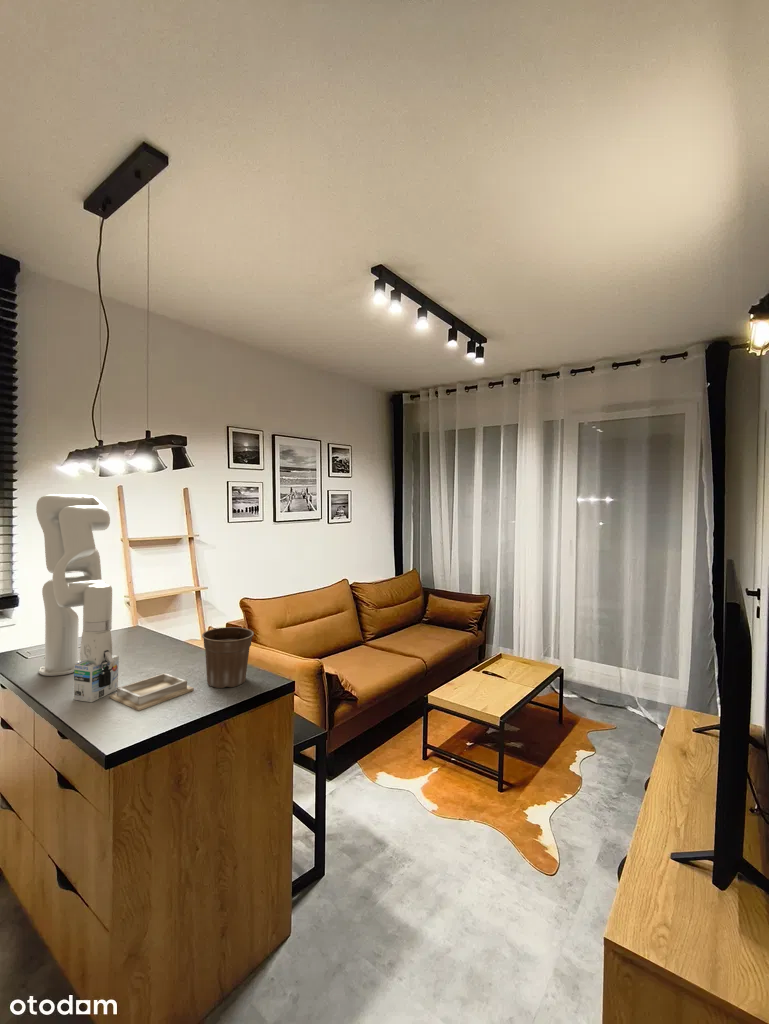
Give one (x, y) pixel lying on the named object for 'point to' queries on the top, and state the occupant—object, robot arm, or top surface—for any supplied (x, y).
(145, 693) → the collar
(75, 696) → the light bulb box
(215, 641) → the plant pot
